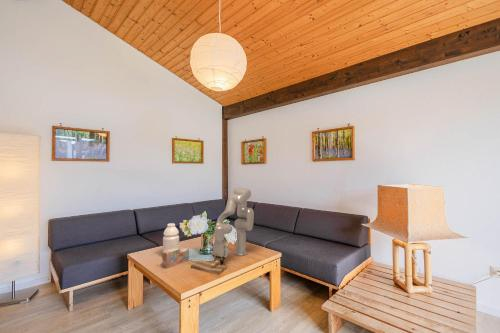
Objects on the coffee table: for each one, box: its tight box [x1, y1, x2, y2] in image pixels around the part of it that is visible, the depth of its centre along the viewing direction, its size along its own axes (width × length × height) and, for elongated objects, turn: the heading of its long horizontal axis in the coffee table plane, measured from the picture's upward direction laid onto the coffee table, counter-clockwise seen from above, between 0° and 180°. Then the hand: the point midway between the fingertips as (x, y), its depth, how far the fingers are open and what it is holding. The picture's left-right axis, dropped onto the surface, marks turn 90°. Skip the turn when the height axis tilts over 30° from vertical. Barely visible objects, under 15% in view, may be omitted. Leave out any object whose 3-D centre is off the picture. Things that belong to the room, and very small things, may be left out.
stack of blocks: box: [161, 247, 190, 270], centre depth 193 cm, size 21×6×12 cm, turn 142°
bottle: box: [162, 222, 180, 252], centre depth 210 cm, size 14×14×28 cm
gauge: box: [211, 256, 221, 267], centre depth 186 cm, size 12×5×6 cm, turn 155°
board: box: [190, 260, 227, 275], centre depth 184 cm, size 11×26×2 cm, turn 66°
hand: (219, 263), depth 189 cm, fingers closed on gauge, 5 cm apart
